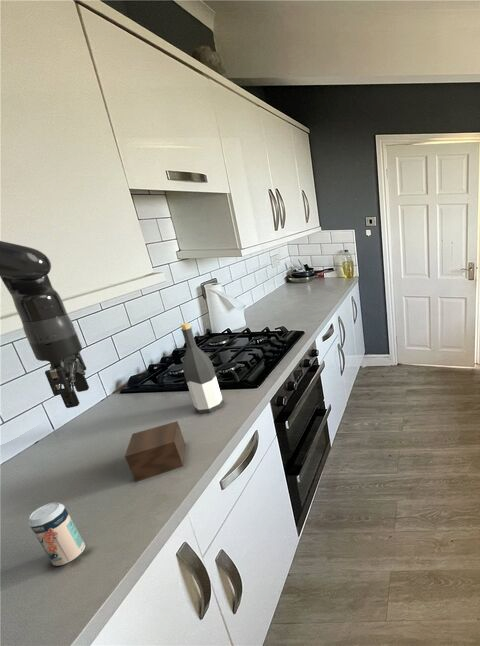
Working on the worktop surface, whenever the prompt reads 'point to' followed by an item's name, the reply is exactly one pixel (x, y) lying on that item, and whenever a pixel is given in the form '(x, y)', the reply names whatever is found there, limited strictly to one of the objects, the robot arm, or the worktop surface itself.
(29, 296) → the robot arm
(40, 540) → the beer can
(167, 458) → the riser block
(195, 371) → the wine bottle
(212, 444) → the worktop surface
